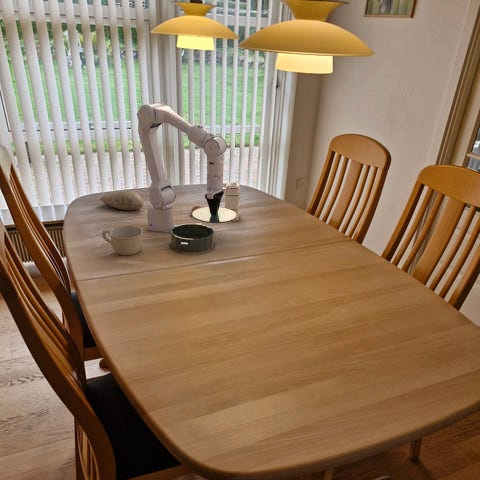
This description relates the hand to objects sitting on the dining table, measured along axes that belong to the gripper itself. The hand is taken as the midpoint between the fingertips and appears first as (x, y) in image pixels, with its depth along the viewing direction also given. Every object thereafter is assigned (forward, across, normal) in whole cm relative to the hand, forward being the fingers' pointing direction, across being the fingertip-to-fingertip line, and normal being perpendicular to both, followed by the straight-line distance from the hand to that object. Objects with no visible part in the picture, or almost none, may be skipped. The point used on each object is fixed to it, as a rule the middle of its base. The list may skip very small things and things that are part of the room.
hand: (214, 212), depth 159 cm
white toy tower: (+11, +24, -2) cm, 26 cm away
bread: (+10, +23, +11) cm, 28 cm away
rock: (+11, +24, +45) cm, 52 cm away
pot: (+10, -8, +6) cm, 14 cm away
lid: (+1, 0, 0) cm, 1 cm away
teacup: (+11, -20, +27) cm, 35 cm away
